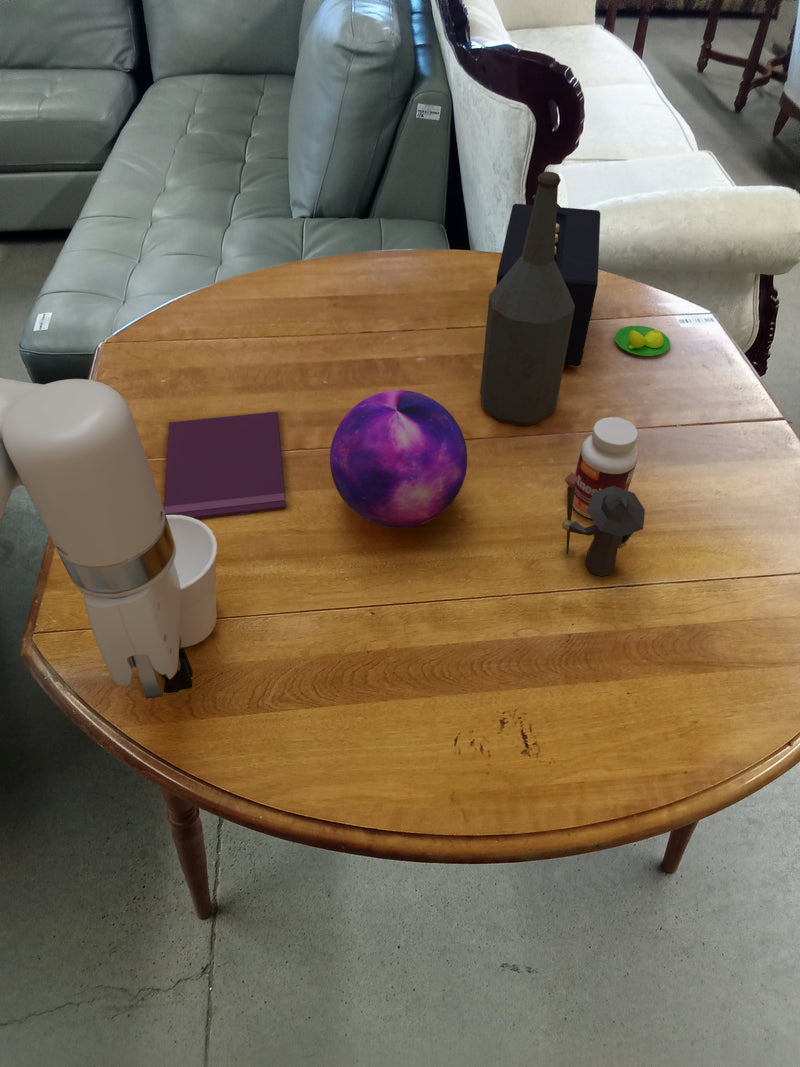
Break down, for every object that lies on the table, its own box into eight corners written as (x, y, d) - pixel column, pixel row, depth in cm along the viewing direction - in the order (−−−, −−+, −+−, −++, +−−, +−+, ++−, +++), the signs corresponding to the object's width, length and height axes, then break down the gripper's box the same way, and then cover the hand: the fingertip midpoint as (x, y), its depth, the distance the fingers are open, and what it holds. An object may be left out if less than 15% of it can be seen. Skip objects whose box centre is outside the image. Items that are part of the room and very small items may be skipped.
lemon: (645, 365, 108) (650, 348, 106) (602, 341, 112) (606, 324, 110) (680, 346, 111) (685, 329, 109) (637, 323, 115) (641, 306, 113)
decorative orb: (320, 546, 84) (309, 443, 73) (349, 458, 94) (343, 356, 83) (454, 564, 82) (463, 460, 71) (469, 472, 92) (478, 369, 81)
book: (163, 523, 87) (162, 519, 86) (170, 425, 99) (169, 421, 98) (286, 509, 88) (285, 505, 88) (277, 414, 100) (277, 410, 100)
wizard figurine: (621, 545, 84) (646, 464, 75) (632, 584, 80) (660, 504, 72) (547, 545, 84) (564, 465, 75) (554, 584, 80) (573, 504, 72)
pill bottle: (561, 511, 88) (578, 437, 80) (578, 479, 92) (595, 405, 84) (614, 529, 86) (636, 455, 78) (628, 495, 90) (651, 422, 82)
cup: (248, 593, 79) (231, 521, 71) (216, 673, 73) (194, 602, 65) (159, 580, 81) (132, 508, 73) (120, 657, 74) (86, 587, 66)
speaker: (503, 290, 122) (513, 197, 111) (583, 298, 120) (601, 204, 110) (487, 366, 108) (497, 267, 97) (578, 376, 106) (599, 277, 95)
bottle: (559, 388, 104) (602, 161, 82) (550, 432, 98) (594, 198, 76) (486, 377, 106) (509, 152, 84) (472, 419, 99) (493, 187, 78)
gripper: (76, 479, 58) (138, 621, 72) (46, 637, 48) (124, 767, 62) (175, 469, 59) (218, 611, 73) (166, 621, 49) (217, 754, 62)
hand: (175, 682), depth 67 cm, fingers closed
